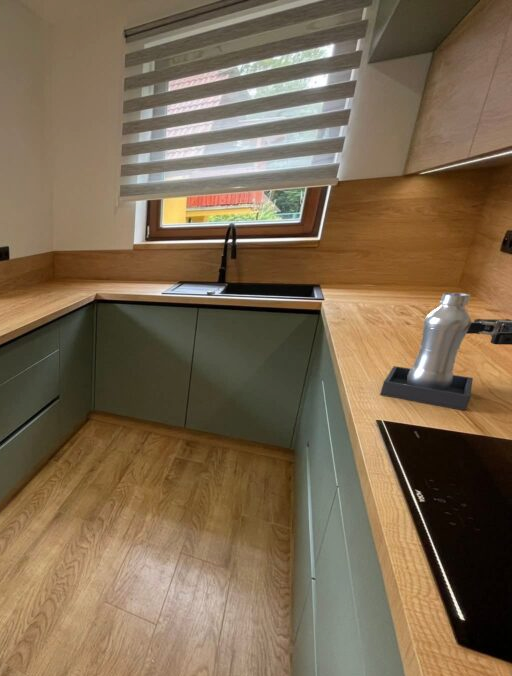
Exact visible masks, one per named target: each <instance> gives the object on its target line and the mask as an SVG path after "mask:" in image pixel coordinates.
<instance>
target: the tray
mask: <svg viewBox="0 0 512 676" xmlns="http://www.w3.org/2000/svg"><path fill="white" fill-rule="evenodd" d="M410 369H411V368H410V367H402V366H395V365H393V366H392V368H391V369H390V371H389V372H388V375H386V377H385V379H384V380H383V384H382V386H381V390H380V394H379V395H380V396H384V397H390V398H395V399H400V400H406V401H412V402H417V403H421V404H427V405H432V406H438V407H443V408H448V409H454V410H459V411H463V412H464V411H466V409H467V407H468V404H469V401H470V399H471V396H472V387H473V379H474V378H473V377H470V376H463V375H456V374H453V380H452V384H451V385H450V387H449V388H448V389H447V390H446V391H442V390H436V389H431V388H425V387H419V386H413V385H408V383H407V375H408V373H409V371H410Z"/></svg>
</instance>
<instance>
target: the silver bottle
mask: <svg viewBox="0 0 512 676" xmlns="http://www.w3.org/2000/svg"><path fill="white" fill-rule="evenodd" d="M470 298H471V294H467V293H460V292H459V293H458V292H443V293H442V295H441V298H440V300H439V304H440V305H439V306H437V308H435V309H433V310H432V311H431V312H430V313H428V314H427V315H426V316H425V318H424V320H423V326H422V333H421V335H422V337H421V340H420V346H419V349H418V353H417V354H416V357H415V359H414V362H413V364H412V366H411V368H410V371H409V373H408V375H407V383H408V385H413V386H419V387H425V388H431V389H436V390H442V391H446V390H447V389H448V388H449V387H450V385H451V384H452V380H453V375H454V368H455V364H456V363H455V362H456V357H457V354H458V352H459V351H458V350H459V349H460V347H461V345H462V342H463V340H464V339H465V337H466V335H467V334H466V333H467V331H468V329H469V328H470V325H471V322H472V318H471V316H470V314H469V312H468V311H467V309H466V306H468V305H469V303H470V302H469V301H470Z"/></svg>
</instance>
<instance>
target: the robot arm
mask: <svg viewBox="0 0 512 676" xmlns="http://www.w3.org/2000/svg"><path fill="white" fill-rule="evenodd" d="M467 334H471V335H473V334H475V335H488V336H490V337H491V339H490V343H491V344H493V345H504V346H506V345H512V319H510V318H506V319H505V318H504V319H499V318H497V319H496V318H495V319H494V318H493V319H492V318H491V319H490V318H488V319H487V318H476V319H474V321H471V325H470V328H469V329H468V331H467V333H466V335H467Z"/></svg>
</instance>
